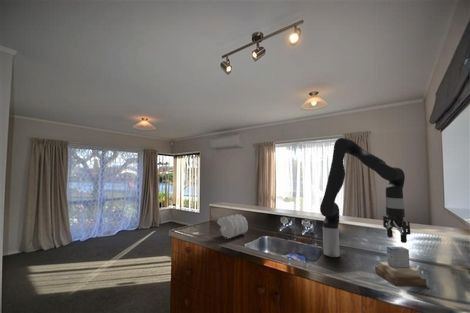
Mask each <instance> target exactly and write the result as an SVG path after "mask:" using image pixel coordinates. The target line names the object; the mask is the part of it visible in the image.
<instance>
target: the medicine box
mask: <svg viewBox="0 0 470 313" xmlns="http://www.w3.org/2000/svg"><path fill="white" fill-rule="evenodd" d="M386 259H387V261H386V262H388V265H390V266H392V267H394V268H403V267H410V266H411V265H410V251H409V248H408V249H407V247H403V246H386Z"/></svg>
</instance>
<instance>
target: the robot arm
mask: <svg viewBox="0 0 470 313" xmlns="http://www.w3.org/2000/svg"><path fill="white" fill-rule="evenodd" d="M346 154H348V155H351V156H353V157H355V158H357V159H358V160H359V161H360V162H361V163H362V164H364V166H366V167H367V168H368V169H370V170H372V171H374V172H375V173H376V174H377V175H379V177H381V178H382V179H384V180H386V181H387V182H388V185H387V186H386V187H385V214H386V215H384V216H382V220H383V221H382V222H383V226H382V227H383V228H385V229H386V233H387V234H386V236H387V237H388V239H389V238H391V239H392V238H393V237H394V236H393V228H395V229H396V230H398V232H399V233H400V242H401V243H402V244H406V243H407V242H408V240H407V236H408V235H411V234H412V233H411V226H410V221H407V220H406V221H405V220H404V218H405V216H406V214H405V201H404V191H403V189H404V185H405V181H406V180H405V179H406V177H405V175H406V174H405V172H404V171H403V169H402V168H400V167H393V166H391V165H389V164H386V163H387V162H386V161H385V160H383V159H382V158H379V157H378V156H376V155H374V154H372V153H371V152H370V151H367V150H365V149H364V148H362V147H361V146H359V145H358V143H356V142H355V141H353V140H352V139H350V138H346V137H339V138H337V139H336V140H335V142H334V144H333V152H332V160H331V164H330V169H329V173H328V177H327V182H326V186H325V190H324V195H323V197H322V201H321V204H320V205H319V206H320V207H319V212H320V214H321V215H322V216H323V217H325V218H324V220H323V221H322V239H323V240H322V241H323V242H322V243H323V244H322V245H323V246H322V247H323V255H325V256H328V257H330V258H338V257H340V239H339V238H340V233H339V232H340V231H339V224H340V207H339V205H338V203H336V198H337V196H338V194H339V193H340V191H341V189H342V187H343V185H344V181H345V177H346V170H345V166H344V164H345V163H344V158H345V155H346Z"/></svg>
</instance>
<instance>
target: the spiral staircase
mask: <svg viewBox="0 0 470 313" xmlns="http://www.w3.org/2000/svg"><path fill="white" fill-rule="evenodd" d="M216 223H217V224H218V225H219V226H220V229H219V230H220V232H221V236H223V237H224V238H225V237H227V238H226V239H229V238H230V239H232V238H233V237H234V238H235V237H236V236H241V234H243V235H244V234H245V233H246V232H248V229H249V226H248V225H249V224H248V220H247V218H246V217H245V216H243V214H239V213H236V214H234V215H233V214H231V215H227V216H222V217H221V218H218V219H217V221H216Z"/></svg>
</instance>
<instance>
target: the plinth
mask: <svg viewBox="0 0 470 313" xmlns="http://www.w3.org/2000/svg"><path fill="white" fill-rule="evenodd" d="M374 270H375V272H374V273H376V274H377V275H379V276H381V277H382V278H383V279H385V280H386V281H388V282H390V283H391V284H392V285H394V286H396V287H427V285H428V284H427V279H426V278H425V277H422V276H421V274H420V271H421V270H420V269H418V268H416V267H413V266H411V265H410V267H403V268H394V267H392V266H390V265H388V262H387V261H379V266H377V265H376V266H375V267H374Z"/></svg>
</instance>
